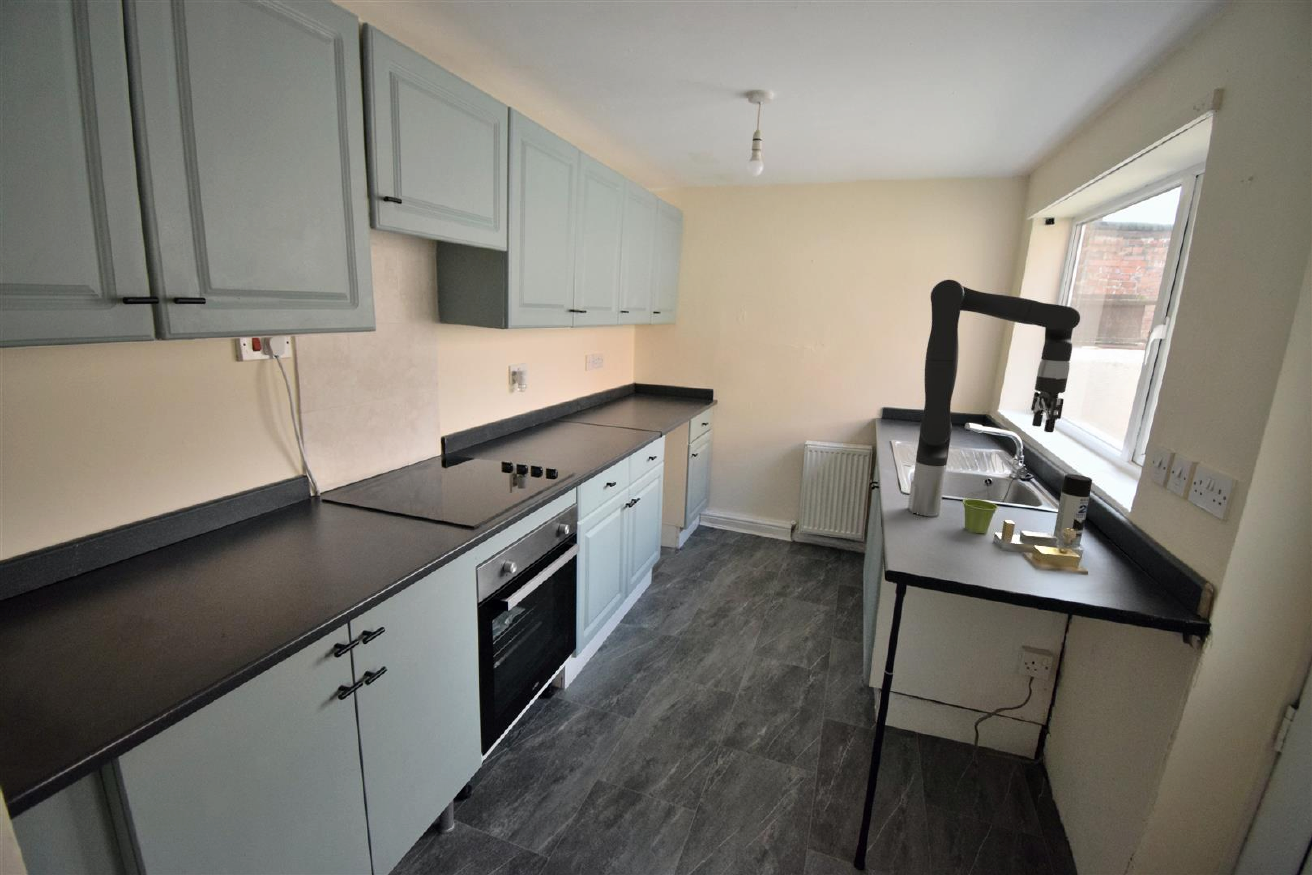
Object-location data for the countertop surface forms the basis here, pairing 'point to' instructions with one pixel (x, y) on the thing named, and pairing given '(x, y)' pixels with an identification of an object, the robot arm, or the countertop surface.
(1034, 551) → the lever cap
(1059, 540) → the plane body
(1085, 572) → the cork mat
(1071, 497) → the spray can
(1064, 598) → the countertop surface
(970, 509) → the plant pot
